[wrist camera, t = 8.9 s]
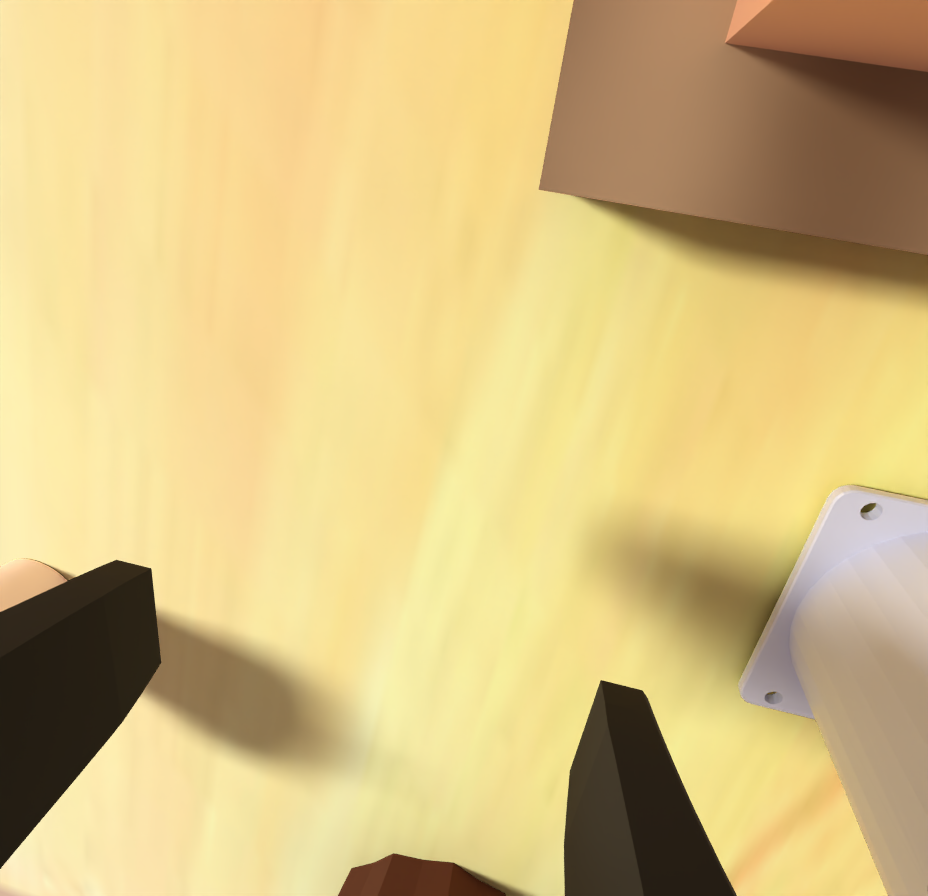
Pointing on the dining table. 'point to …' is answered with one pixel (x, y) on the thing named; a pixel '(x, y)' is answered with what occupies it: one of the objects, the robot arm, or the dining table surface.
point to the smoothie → (25, 581)
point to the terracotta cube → (837, 29)
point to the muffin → (413, 879)
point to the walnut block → (736, 127)
